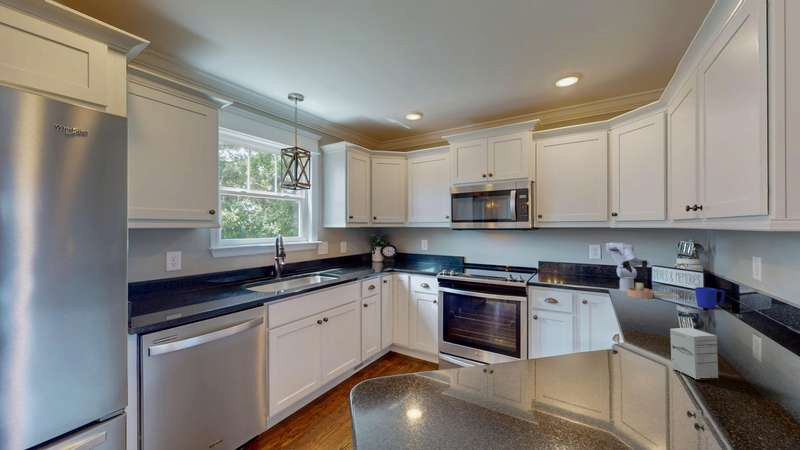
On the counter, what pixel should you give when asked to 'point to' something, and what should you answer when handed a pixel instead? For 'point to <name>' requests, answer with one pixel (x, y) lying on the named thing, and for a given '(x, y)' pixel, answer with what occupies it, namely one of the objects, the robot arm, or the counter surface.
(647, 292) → the orange peg base
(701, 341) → the supplement box
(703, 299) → the mug
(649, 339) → the counter surface
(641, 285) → the peg
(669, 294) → the tray
